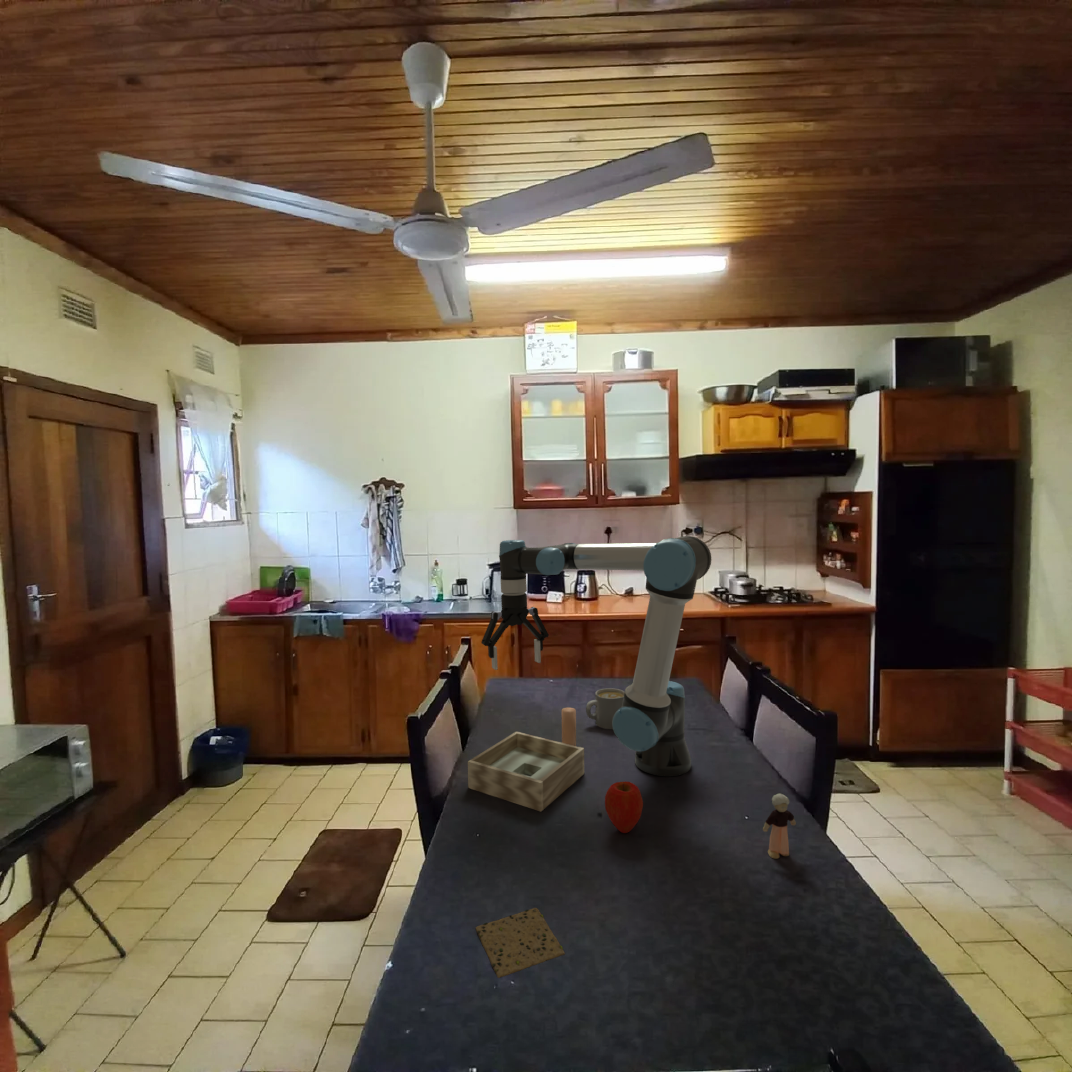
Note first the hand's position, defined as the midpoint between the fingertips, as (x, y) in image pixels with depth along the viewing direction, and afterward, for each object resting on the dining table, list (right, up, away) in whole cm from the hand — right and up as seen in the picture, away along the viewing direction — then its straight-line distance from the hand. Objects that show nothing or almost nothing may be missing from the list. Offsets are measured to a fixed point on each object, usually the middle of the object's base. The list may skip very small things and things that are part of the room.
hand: (516, 665), depth 172 cm
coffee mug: (+28, -24, +20) cm, 42 cm away
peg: (+15, -25, -5) cm, 30 cm away
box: (+3, -26, -18) cm, 32 cm away
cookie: (+3, -31, -73) cm, 79 cm away
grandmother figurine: (+56, -28, -50) cm, 80 cm away
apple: (+25, -28, -41) cm, 56 cm away
